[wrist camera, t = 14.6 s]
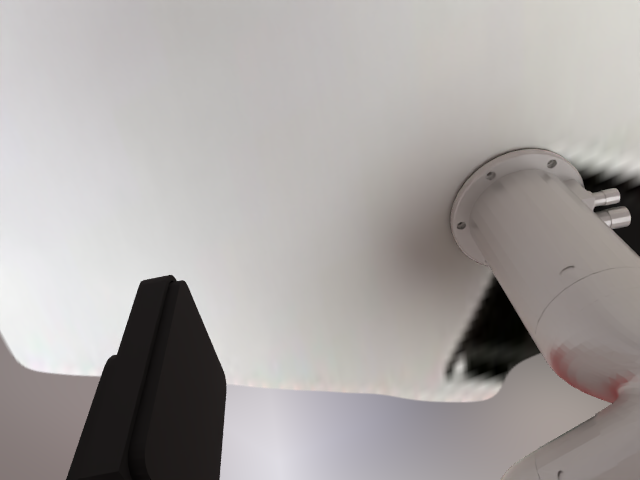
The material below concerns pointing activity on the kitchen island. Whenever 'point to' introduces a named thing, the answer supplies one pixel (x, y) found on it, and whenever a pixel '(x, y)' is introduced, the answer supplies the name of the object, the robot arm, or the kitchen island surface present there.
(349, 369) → the kitchen island surface
